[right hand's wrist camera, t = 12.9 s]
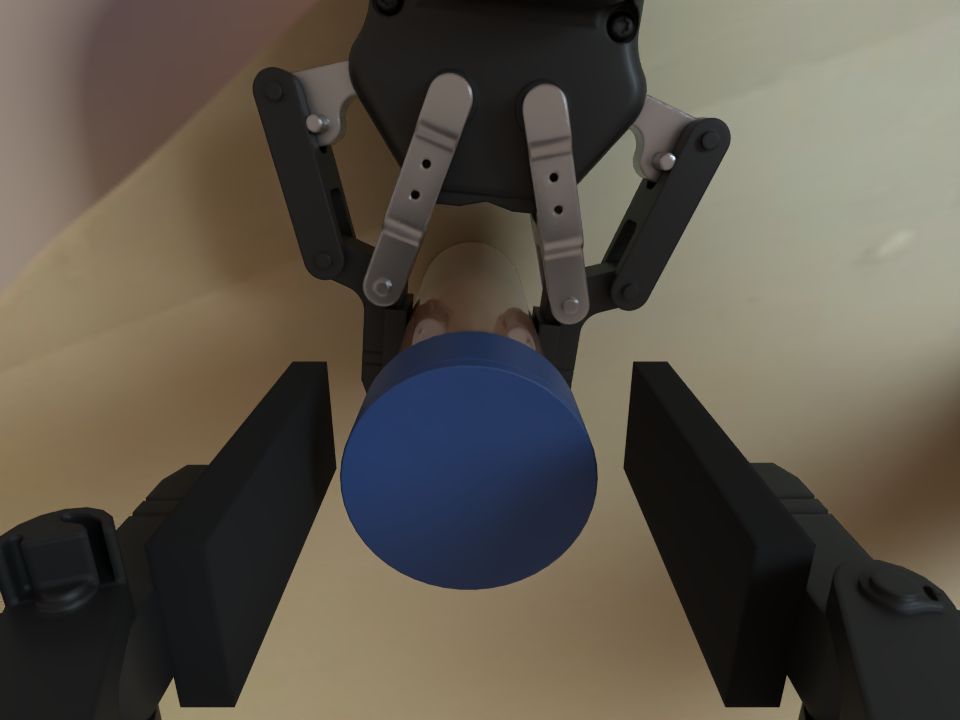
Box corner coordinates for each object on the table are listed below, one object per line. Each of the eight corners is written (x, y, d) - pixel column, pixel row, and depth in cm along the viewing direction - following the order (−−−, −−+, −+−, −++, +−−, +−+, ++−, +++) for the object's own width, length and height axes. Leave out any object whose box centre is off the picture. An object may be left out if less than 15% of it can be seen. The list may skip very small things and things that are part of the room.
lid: (417, 289, 13) (406, 319, 11) (621, 391, 13) (647, 435, 11) (324, 476, 14) (300, 533, 12) (513, 557, 15) (520, 623, 13)
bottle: (449, 224, 25) (418, 336, 11) (539, 270, 26) (617, 432, 12) (405, 312, 27) (328, 513, 12) (492, 354, 27) (512, 591, 13)
